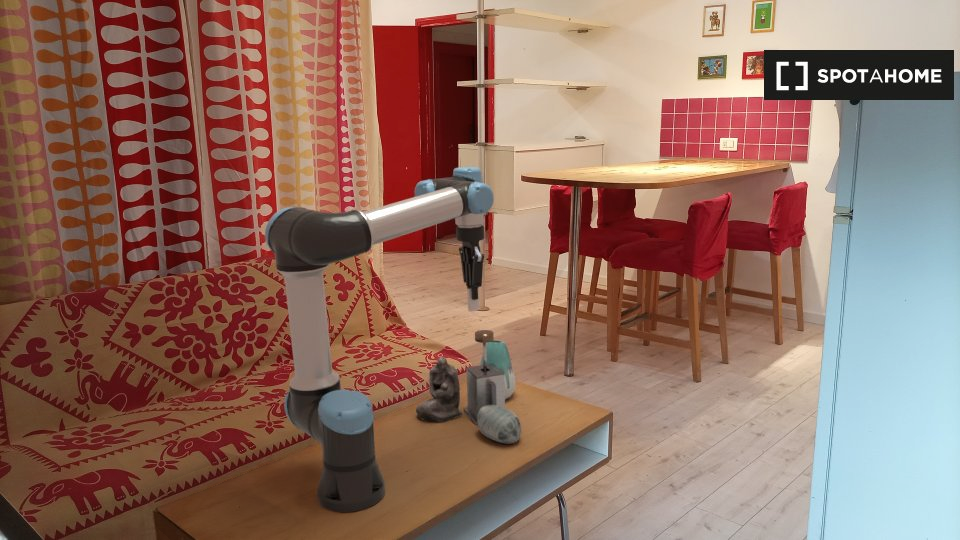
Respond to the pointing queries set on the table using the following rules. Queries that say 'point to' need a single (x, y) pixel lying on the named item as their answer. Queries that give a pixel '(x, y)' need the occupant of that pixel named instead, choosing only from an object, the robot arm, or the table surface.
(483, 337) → the plunger
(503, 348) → the vase
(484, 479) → the table surface
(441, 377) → the figurine
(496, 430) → the striped grey egg shape
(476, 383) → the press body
